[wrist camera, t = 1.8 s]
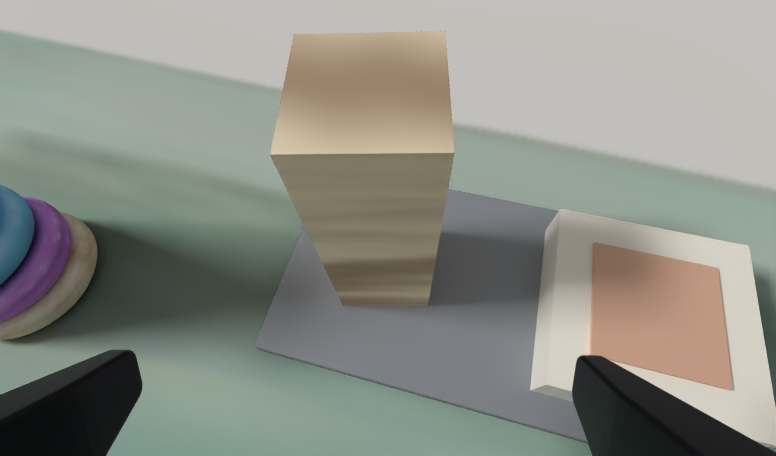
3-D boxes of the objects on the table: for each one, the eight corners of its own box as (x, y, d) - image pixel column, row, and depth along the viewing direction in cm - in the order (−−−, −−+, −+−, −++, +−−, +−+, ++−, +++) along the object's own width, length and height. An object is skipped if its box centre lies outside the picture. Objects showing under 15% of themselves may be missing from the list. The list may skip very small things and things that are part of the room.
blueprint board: (717, 252, 23) (769, 222, 20) (747, 489, 18) (825, 501, 14) (331, 174, 27) (320, 137, 23) (259, 349, 21) (233, 334, 18)
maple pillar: (427, 306, 21) (454, 152, 10) (342, 305, 21) (270, 154, 10) (425, 230, 23) (445, 30, 12) (348, 230, 24) (293, 34, 12)
